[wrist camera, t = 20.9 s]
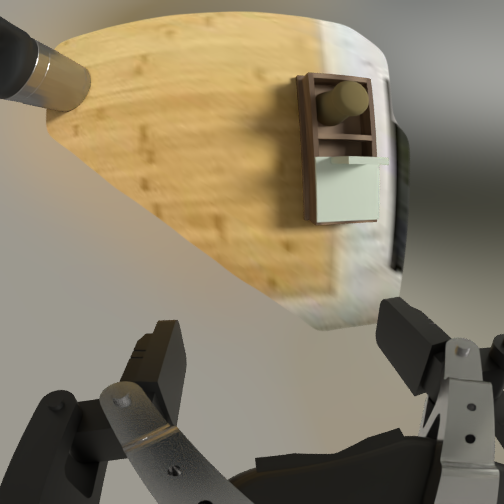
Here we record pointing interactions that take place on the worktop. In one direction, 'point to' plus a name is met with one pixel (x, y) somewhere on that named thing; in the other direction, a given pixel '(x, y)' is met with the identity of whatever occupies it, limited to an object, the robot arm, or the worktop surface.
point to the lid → (347, 188)
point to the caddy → (330, 134)
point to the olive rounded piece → (341, 103)
